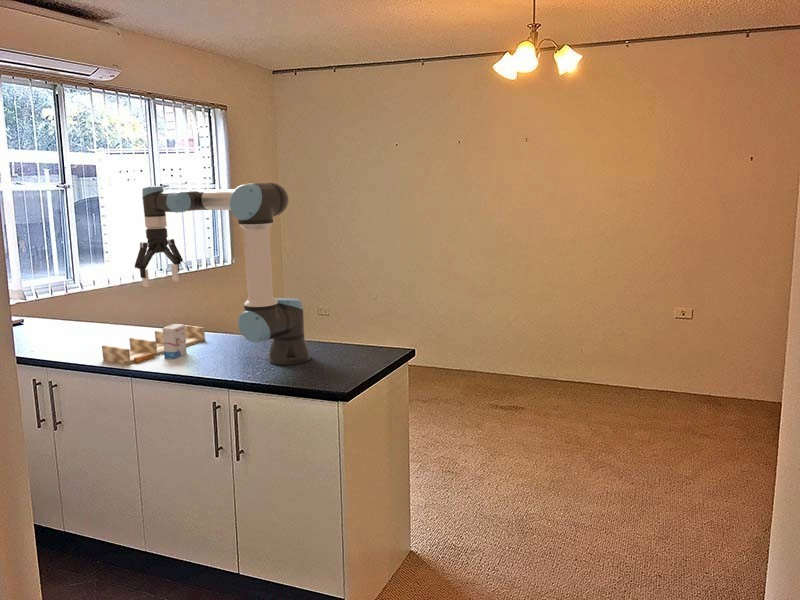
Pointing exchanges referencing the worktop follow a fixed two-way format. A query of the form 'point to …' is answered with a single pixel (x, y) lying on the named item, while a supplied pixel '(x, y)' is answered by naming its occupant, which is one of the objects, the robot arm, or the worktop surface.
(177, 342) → the ink box
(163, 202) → the robot arm
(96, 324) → the worktop surface
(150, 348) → the rack
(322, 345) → the worktop surface
